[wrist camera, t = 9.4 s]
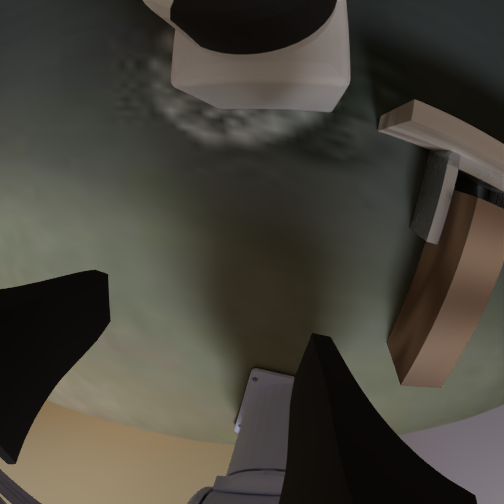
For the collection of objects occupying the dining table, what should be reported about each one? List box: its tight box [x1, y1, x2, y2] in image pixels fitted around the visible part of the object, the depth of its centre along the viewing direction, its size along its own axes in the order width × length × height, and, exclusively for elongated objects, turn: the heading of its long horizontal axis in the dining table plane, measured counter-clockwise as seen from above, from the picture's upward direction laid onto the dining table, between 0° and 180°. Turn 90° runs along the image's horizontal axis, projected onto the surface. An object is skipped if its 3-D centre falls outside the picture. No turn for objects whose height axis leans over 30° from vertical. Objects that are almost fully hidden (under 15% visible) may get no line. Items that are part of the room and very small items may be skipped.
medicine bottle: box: [143, 0, 350, 112], centre depth 9 cm, size 7×7×12 cm
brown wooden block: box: [386, 190, 504, 388], centre depth 15 cm, size 12×3×5 cm, turn 171°
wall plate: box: [378, 99, 504, 178], centre depth 12 cm, size 1×14×6 cm, turn 78°
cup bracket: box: [410, 150, 504, 245], centre depth 14 cm, size 5×7×3 cm
